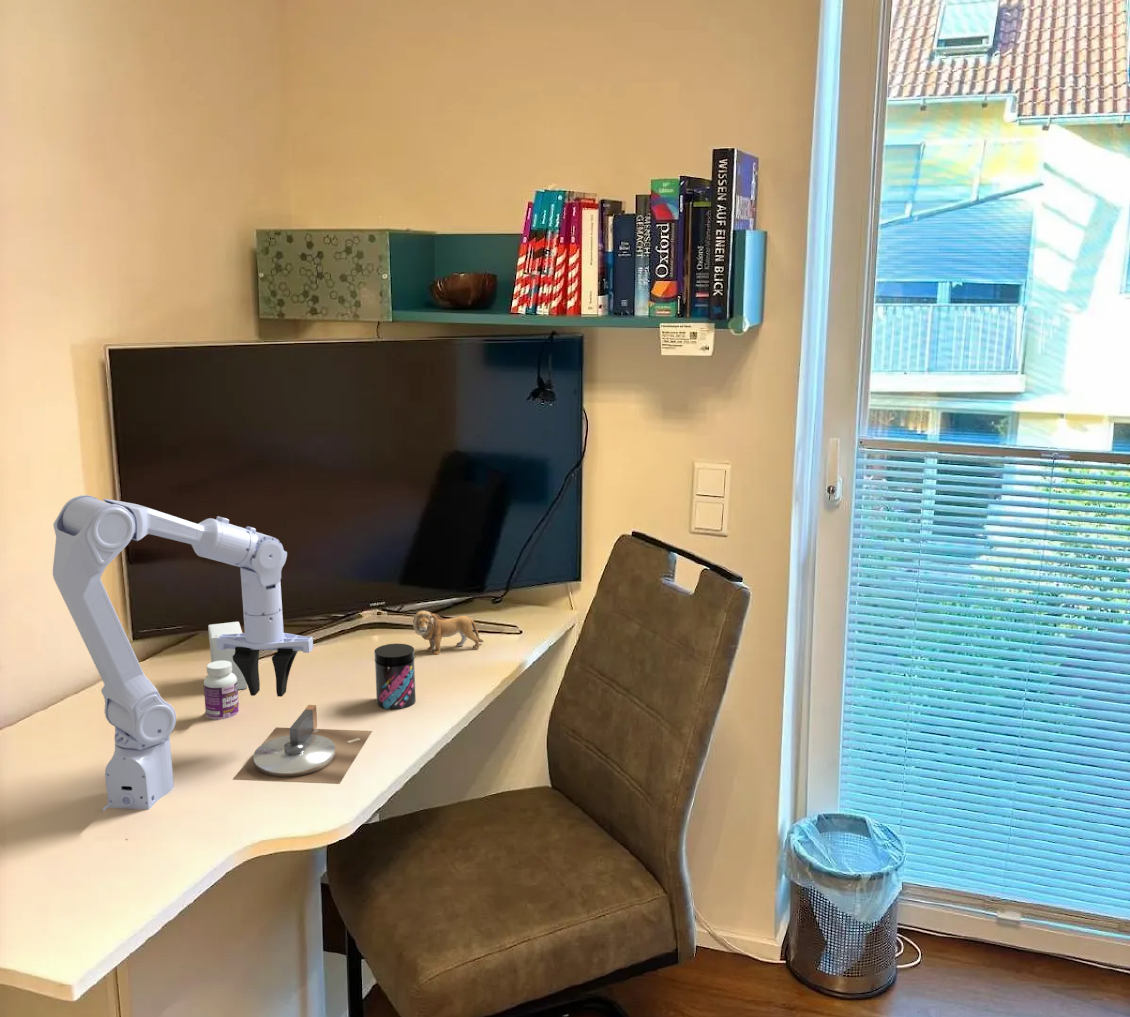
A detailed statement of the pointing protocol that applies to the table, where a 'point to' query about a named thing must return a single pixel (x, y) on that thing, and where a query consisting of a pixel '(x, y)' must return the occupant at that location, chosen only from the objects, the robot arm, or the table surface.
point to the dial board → (345, 754)
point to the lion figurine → (444, 629)
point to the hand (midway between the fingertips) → (268, 693)
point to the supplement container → (395, 676)
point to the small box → (226, 654)
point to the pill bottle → (221, 691)
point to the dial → (296, 749)
